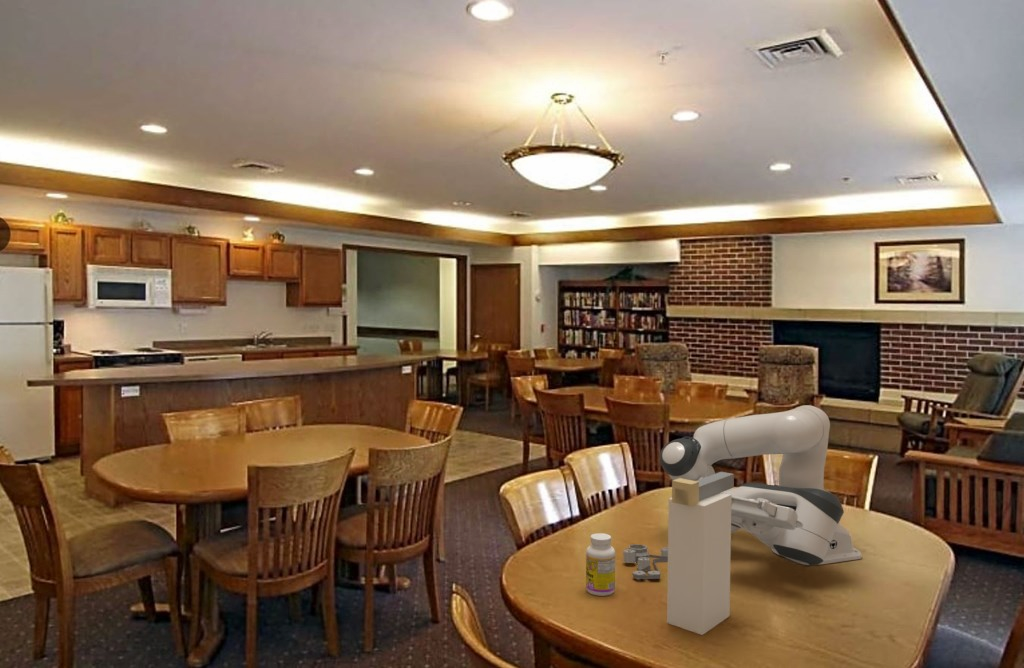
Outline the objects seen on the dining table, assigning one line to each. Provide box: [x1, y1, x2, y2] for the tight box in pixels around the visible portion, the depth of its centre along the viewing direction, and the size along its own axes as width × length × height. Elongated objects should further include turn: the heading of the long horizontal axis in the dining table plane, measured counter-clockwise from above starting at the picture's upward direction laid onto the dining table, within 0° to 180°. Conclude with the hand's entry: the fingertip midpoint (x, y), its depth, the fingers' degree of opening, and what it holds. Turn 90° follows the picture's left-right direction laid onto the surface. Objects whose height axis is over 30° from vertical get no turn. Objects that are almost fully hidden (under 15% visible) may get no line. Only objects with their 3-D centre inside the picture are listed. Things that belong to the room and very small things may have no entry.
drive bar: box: [671, 471, 735, 506], centre depth 149 cm, size 20×4×4 cm, turn 137°
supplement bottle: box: [585, 532, 616, 597], centre depth 163 cm, size 7×7×13 cm
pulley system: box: [622, 543, 668, 581], centre depth 181 cm, size 27×5×15 cm
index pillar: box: [666, 493, 732, 636], centre depth 148 cm, size 12×8×26 cm, turn 137°
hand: (740, 499), depth 162 cm, fingers open, 8 cm apart
